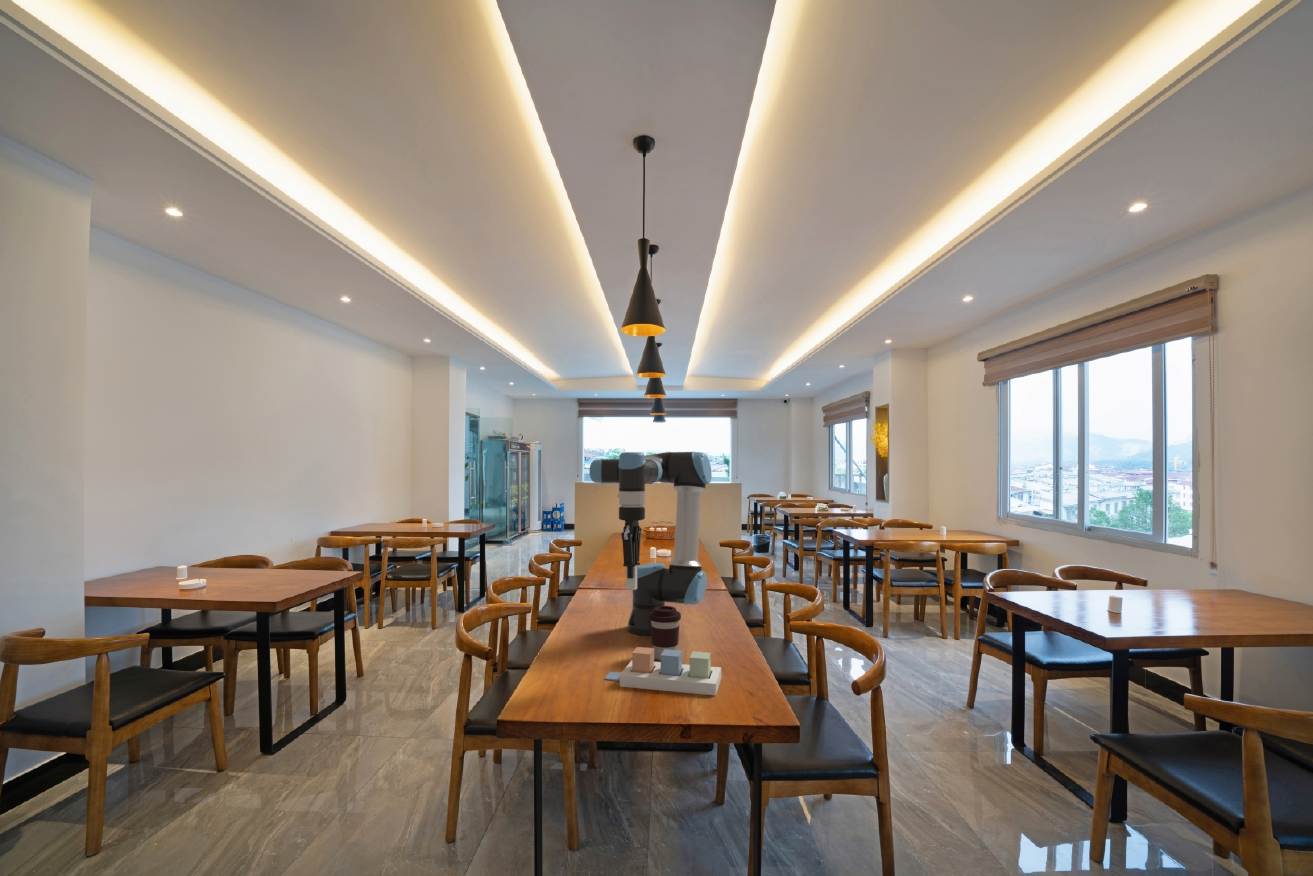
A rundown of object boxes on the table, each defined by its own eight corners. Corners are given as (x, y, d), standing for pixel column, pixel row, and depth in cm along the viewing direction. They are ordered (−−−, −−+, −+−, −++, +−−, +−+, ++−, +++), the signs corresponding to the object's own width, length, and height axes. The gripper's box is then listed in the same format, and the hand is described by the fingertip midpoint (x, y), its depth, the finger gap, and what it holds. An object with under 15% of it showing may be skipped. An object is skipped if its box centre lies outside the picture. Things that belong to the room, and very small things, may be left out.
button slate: (664, 668, 158) (664, 649, 158) (682, 669, 157) (682, 650, 157) (660, 674, 153) (660, 655, 153) (678, 676, 152) (678, 656, 152)
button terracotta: (637, 665, 160) (637, 647, 160) (654, 667, 159) (654, 648, 159) (632, 672, 155) (632, 652, 155) (649, 673, 154) (649, 654, 154)
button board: (631, 670, 164) (631, 659, 164) (721, 678, 158) (721, 667, 158) (619, 686, 152) (619, 675, 152) (715, 695, 146) (715, 684, 146)
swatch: (610, 673, 161) (610, 671, 161) (626, 674, 160) (626, 673, 160) (604, 679, 157) (604, 678, 157) (621, 681, 155) (621, 679, 155)
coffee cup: (678, 664, 169) (678, 613, 169) (645, 661, 171) (646, 611, 171) (683, 653, 178) (683, 605, 179) (652, 650, 180) (652, 603, 181)
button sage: (692, 670, 156) (692, 651, 156) (710, 672, 155) (710, 652, 155) (689, 677, 151) (689, 657, 151) (708, 678, 150) (708, 659, 150)
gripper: (625, 503, 169) (625, 583, 168) (612, 507, 156) (611, 593, 155) (650, 504, 167) (650, 584, 166) (638, 508, 154) (638, 595, 153)
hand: (631, 588), depth 160 cm, fingers closed
